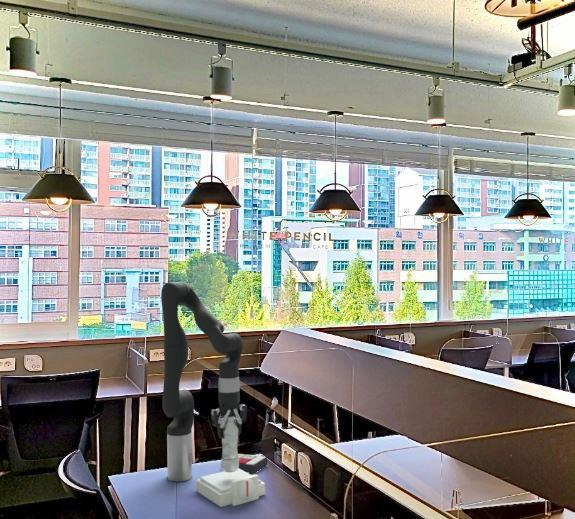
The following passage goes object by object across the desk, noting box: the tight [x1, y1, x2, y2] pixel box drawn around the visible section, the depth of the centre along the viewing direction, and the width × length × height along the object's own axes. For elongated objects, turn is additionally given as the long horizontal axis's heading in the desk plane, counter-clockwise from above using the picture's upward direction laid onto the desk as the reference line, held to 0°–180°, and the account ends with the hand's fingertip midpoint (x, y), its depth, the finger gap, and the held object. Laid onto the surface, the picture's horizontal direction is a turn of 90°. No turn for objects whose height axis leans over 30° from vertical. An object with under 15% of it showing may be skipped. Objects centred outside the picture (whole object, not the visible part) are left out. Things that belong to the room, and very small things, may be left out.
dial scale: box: [195, 468, 266, 507], centre depth 212 cm, size 21×18×8 cm
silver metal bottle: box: [220, 416, 239, 472], centre depth 214 cm, size 6×7×20 cm
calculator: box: [238, 453, 268, 474], centre depth 241 cm, size 11×4×15 cm
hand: (229, 436), depth 214 cm, fingers closed on silver metal bottle, 6 cm apart
